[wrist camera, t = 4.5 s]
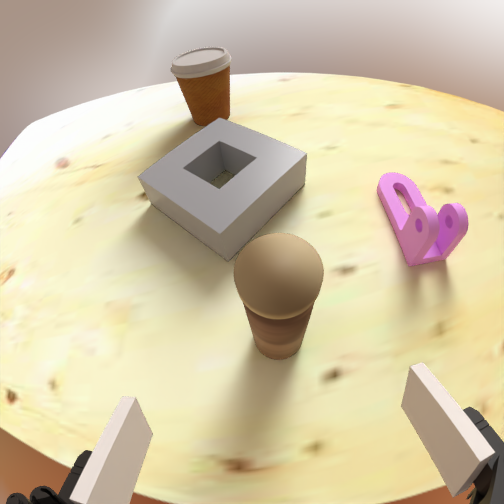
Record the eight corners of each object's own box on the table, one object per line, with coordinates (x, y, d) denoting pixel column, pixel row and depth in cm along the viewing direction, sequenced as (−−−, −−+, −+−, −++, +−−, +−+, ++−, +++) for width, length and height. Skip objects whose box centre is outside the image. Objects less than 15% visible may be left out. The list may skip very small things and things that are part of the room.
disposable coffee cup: (224, 135, 42) (211, 66, 32) (174, 128, 45) (156, 68, 35) (248, 106, 47) (241, 45, 36) (202, 101, 49) (190, 46, 39)
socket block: (224, 145, 41) (219, 117, 37) (304, 183, 35) (306, 153, 31) (151, 203, 36) (137, 176, 32) (228, 261, 30) (220, 234, 26)
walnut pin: (274, 303, 28) (271, 219, 16) (313, 331, 26) (340, 262, 15) (243, 340, 26) (215, 277, 15) (282, 370, 24) (286, 331, 13)
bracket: (445, 259, 28) (472, 224, 22) (407, 267, 28) (433, 229, 22) (405, 179, 35) (419, 140, 29) (370, 181, 35) (382, 139, 29)
